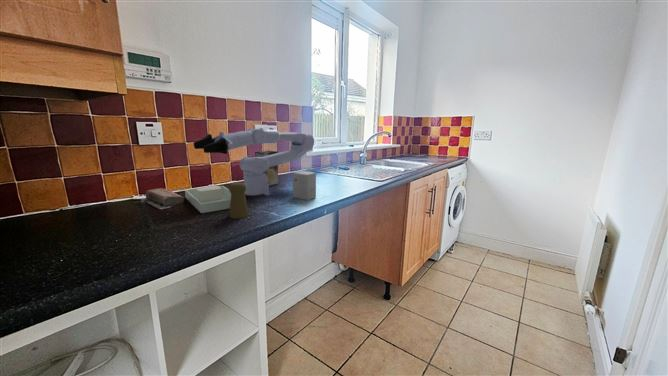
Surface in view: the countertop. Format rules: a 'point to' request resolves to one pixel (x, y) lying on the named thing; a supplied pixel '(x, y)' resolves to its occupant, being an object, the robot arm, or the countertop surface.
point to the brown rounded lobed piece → (238, 201)
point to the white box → (209, 193)
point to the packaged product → (162, 198)
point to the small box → (304, 185)
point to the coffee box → (272, 171)
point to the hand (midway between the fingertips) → (199, 147)
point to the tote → (209, 205)
